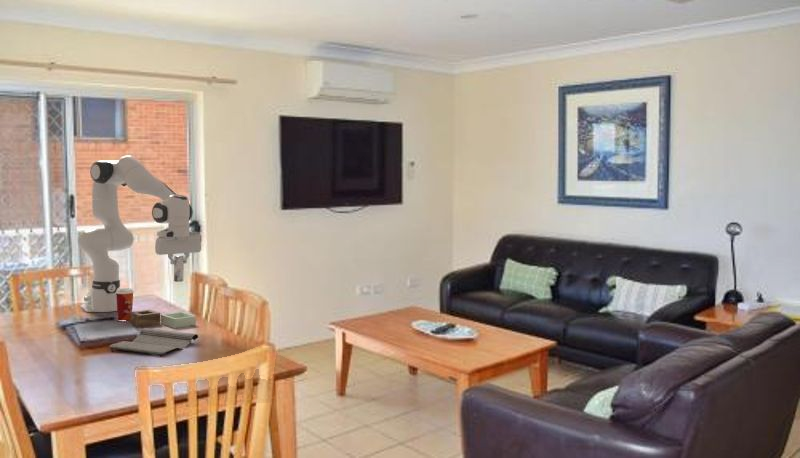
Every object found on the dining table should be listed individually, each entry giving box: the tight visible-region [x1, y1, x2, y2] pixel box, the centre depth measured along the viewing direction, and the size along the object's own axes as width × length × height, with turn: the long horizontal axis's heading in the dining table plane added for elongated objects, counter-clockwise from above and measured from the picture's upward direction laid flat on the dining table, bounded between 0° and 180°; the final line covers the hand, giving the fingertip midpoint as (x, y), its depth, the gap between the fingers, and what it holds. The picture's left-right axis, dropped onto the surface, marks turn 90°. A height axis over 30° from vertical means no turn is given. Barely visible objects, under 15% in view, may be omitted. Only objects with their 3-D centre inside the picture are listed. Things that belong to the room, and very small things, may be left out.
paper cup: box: [115, 287, 135, 322], centre depth 296 cm, size 8×8×14 cm
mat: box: [108, 327, 199, 357], centre depth 253 cm, size 23×24×5 cm
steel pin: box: [173, 255, 185, 283], centre depth 290 cm, size 4×4×11 cm
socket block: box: [129, 309, 161, 328], centre depth 290 cm, size 9×9×5 cm
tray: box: [160, 311, 197, 329], centre depth 292 cm, size 12×10×4 cm
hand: (178, 263), depth 290 cm, fingers closed on steel pin, 4 cm apart
